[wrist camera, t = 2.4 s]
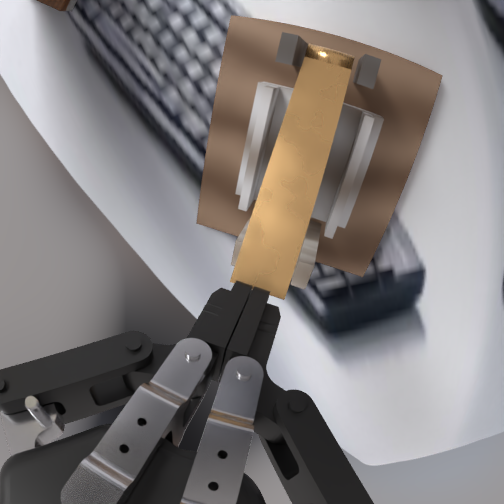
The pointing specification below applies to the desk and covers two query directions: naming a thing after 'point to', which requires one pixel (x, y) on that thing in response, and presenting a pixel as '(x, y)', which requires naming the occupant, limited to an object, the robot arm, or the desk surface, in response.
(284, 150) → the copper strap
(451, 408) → the desk surface
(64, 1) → the display case
